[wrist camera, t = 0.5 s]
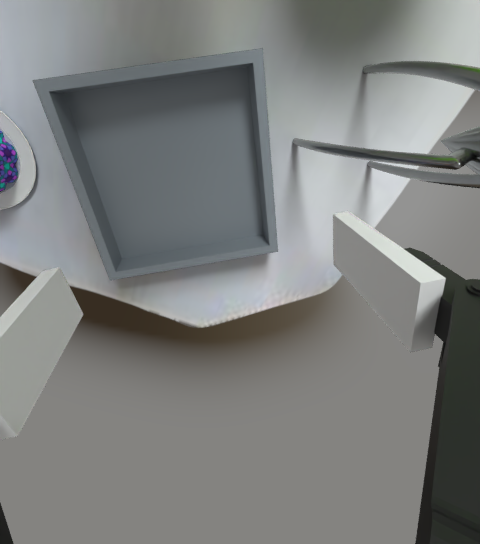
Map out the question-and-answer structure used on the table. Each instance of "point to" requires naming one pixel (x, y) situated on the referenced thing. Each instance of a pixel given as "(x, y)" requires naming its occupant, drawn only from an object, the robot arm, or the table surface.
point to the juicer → (464, 146)
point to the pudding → (4, 171)
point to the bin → (169, 160)
